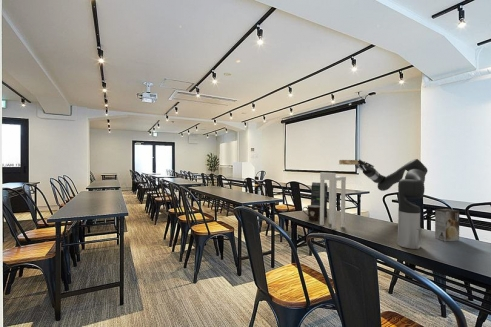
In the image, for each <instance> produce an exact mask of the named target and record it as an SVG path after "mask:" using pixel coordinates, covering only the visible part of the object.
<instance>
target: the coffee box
mask: <svg viewBox="0 0 491 327" xmlns="http://www.w3.org/2000/svg"><path fill="white" fill-rule="evenodd" d="M434 212H435V213H434V214H435V215H434V223H435V224H434V238H435V239H436V240H439V241H443V240H444V241H443V242H453V241H460V210H457V209H450V208H439V209H438V208H436V209H434Z"/></svg>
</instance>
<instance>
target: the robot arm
mask: <svg viewBox="0 0 491 327" xmlns="http://www.w3.org/2000/svg"><path fill="white" fill-rule="evenodd" d="M354 160H358V162H359V163H360V164H358V165H354V166H355V169H357V170H358V169H359V170H360V171H362V174H363V175H365V177H366V178H368V179H370V180H371V181H372V182H374V184H375V183H376V184H377V189H378V190H379V191H381V192H385V191H388V190H389V189H391V187H392V186H394V185H395V184H397V183H398V184H397V187H398V188H397V191H398V194H397V195H398V213H397V214H398V215H397V218H398V220H397V245H398V246H399V247H402V248H405V249H406V248H407V249H411V250H419V249H420V248H421V247H422V245H421V244H422V227H421V207H420V206H419V205H416V204H415V203H412V202H410V201H409V200H407V199H421V198H423V197H424V195H425V181H426V175H427V173H428V168H427V166H426V165H425V164H423V163H422V161H421V160H420V159H418V158H414V159H411V160H410V161H408V162H407V163H405V164H404V165H402V166H401V167H400V168H398V169H397V170H395V171H394V172H391V173H390V174H388V175H387V176H385V175H382V174H381V173H379V171H378V170H376V168H374V167H375V166H374V165H373V164H371V163H369V162H368V161H367V162H366V161H365V162H363V160H361V159H354ZM405 172H406V173H405ZM404 174H405V177H404ZM403 177H404V178H403Z"/></svg>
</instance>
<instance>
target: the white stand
mask: <svg viewBox="0 0 491 327" xmlns="http://www.w3.org/2000/svg"><path fill="white" fill-rule="evenodd" d="M319 173H320V174H319V180H320V182H319V183H320V217H319V225H320V226H324V225H325V218H324V183H325V181H328V224H329V225H331V230H337V189H338V188H337V187H338V186H337V182H338V181H340V182H341V183H340V184H341V185H340V187H341V188H340V228H342V227H345V228H346V184H347V183H346V181H347V176H341V175H340V176H339V175H337V174H336V172H319Z"/></svg>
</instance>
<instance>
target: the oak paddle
mask: <svg viewBox="0 0 491 327" xmlns="http://www.w3.org/2000/svg"><path fill="white" fill-rule="evenodd" d="M358 161H359V159H357V160H355V159H339V160H338V162H339V164H338V165H344V166H345V165H347V166H351V165H353V166H355V165H358V164H360V163H359V162H358ZM362 161H363V160H362ZM363 162H365V163H366V161H363Z"/></svg>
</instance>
